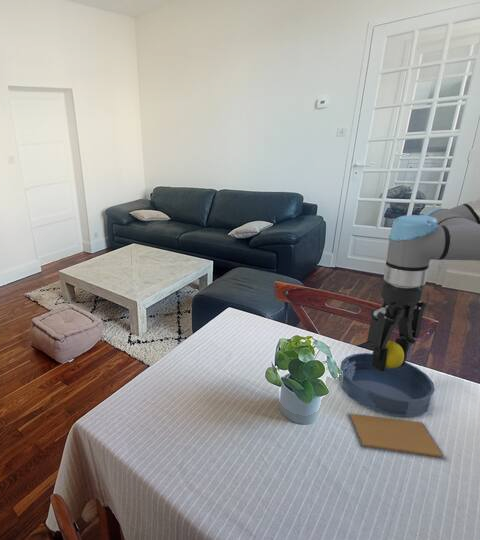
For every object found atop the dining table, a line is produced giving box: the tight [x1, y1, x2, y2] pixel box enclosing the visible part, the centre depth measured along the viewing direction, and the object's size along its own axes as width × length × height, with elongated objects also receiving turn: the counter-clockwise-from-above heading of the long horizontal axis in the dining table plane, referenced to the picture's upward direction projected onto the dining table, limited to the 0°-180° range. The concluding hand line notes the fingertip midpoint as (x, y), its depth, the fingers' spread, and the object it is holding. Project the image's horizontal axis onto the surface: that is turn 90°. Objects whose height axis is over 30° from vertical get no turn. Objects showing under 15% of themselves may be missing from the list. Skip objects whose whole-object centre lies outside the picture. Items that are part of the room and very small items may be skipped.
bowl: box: [338, 352, 436, 418], centre depth 88 cm, size 19×19×5 cm
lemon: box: [385, 340, 404, 369], centre depth 85 cm, size 6×6×8 cm
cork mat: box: [350, 413, 443, 458], centre depth 76 cm, size 14×9×1 cm, turn 73°
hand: (388, 365), depth 86 cm, fingers closed on lemon, 5 cm apart
